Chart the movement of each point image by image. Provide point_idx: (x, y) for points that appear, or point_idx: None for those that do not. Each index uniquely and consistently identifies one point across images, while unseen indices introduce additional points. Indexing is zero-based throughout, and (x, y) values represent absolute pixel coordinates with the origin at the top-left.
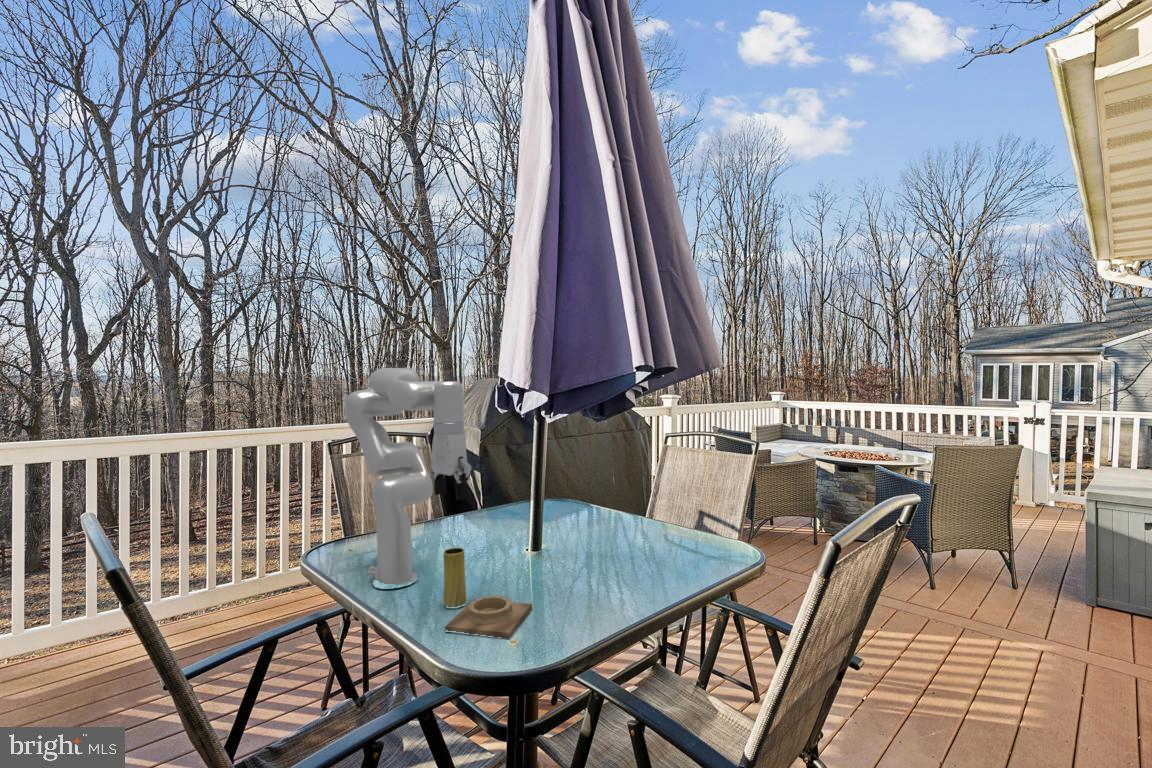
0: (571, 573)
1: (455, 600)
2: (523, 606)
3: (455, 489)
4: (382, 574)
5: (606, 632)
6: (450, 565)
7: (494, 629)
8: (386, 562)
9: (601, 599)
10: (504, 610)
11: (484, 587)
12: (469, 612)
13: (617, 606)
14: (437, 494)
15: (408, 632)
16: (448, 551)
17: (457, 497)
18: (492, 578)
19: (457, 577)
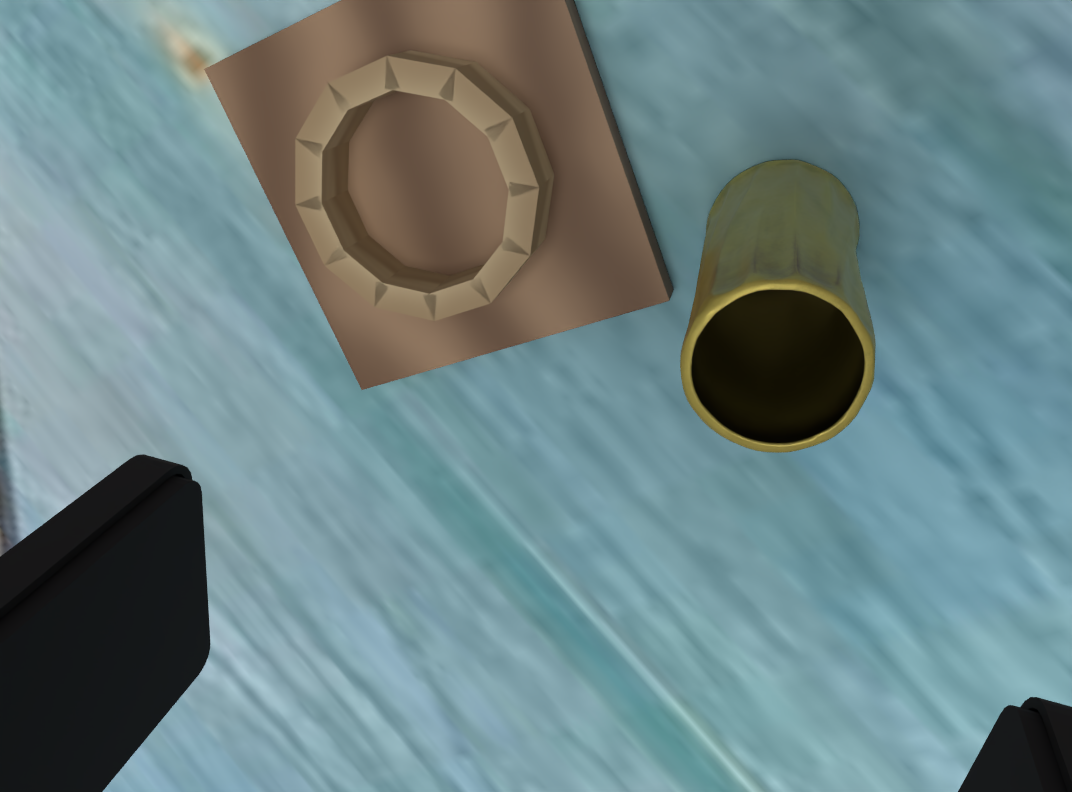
0: (514, 769)
1: (726, 199)
2: (371, 346)
3: (22, 585)
4: None
5: (11, 339)
6: (744, 255)
7: (283, 54)
8: None
9: (227, 580)
10: (296, 179)
11: (797, 498)
12: (456, 65)
13: None
14: (1020, 718)
15: None
16: (862, 374)
17: (120, 479)
18: (845, 613)
19: (707, 258)
